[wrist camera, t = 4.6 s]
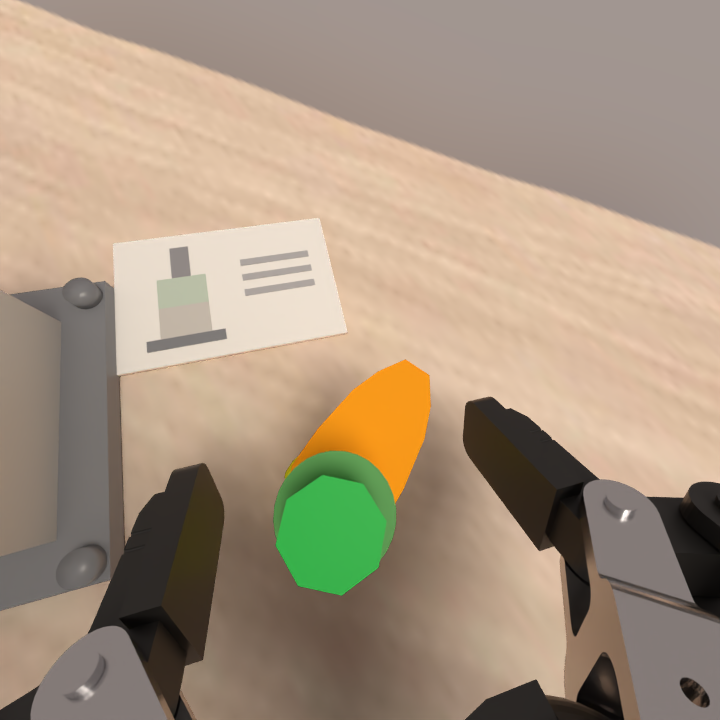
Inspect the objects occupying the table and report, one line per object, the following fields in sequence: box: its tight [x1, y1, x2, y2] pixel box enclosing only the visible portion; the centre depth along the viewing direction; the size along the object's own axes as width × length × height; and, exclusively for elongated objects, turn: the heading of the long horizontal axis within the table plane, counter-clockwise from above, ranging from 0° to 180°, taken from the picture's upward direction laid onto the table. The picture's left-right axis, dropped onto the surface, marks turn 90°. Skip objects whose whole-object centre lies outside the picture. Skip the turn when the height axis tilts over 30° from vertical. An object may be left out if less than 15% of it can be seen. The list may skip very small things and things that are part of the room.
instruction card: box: [113, 218, 348, 376], centre depth 18 cm, size 12×8×1 cm, turn 103°
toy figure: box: [273, 360, 431, 596], centre depth 10 cm, size 7×4×12 cm, turn 146°
